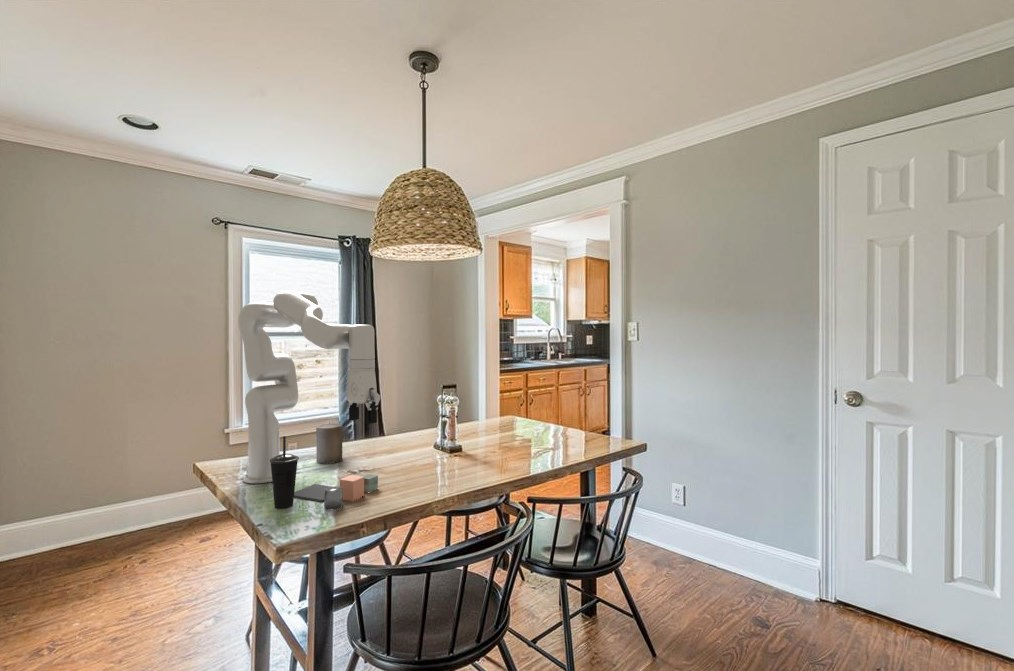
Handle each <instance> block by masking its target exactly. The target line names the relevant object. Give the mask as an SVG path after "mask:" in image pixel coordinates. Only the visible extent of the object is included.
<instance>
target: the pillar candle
mask: <svg viewBox="0 0 1014 671" xmlns="http://www.w3.org/2000/svg"><path fill="white" fill-rule="evenodd" d="M315 430H316V431H315V432H316V433H315V434H316V435H315V439H316V442H315V444H316V447H315V448H316V462H317V463H318V464H326V465H327V464H334V463H338V462H342V461H343V459H344V458H343V424H342V423H337V422H336V423H335V422H334V423H333V422H332V423H331V422H330V421H329V423H321V424H318V425H316V426H315Z"/></svg>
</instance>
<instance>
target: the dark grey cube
mask: <svg viewBox="0 0 1014 671" xmlns="http://www.w3.org/2000/svg"><path fill="white" fill-rule="evenodd" d="M343 501H344V500H343V488H342V487H340V486H338V485H337V486H332V487H329V488H326V489H325V490H324V501H323V502H324V509H325V510H328V509H333V510H338V509H341V508H342V507H343V505H344V504H343V503H344V502H343ZM341 506H342V507H341ZM340 507H341V508H340ZM337 508H338V509H337Z"/></svg>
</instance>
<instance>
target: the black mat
mask: <svg viewBox="0 0 1014 671" xmlns="http://www.w3.org/2000/svg"><path fill="white" fill-rule="evenodd" d="M329 487H333V486H330V485H324V484H317V483H314V484H311V485H308V486H307V487H303V488H301V489H299V490H297V491H294V498H297V499H303V500H307V501H313V502H320V503H323V502H324V490H325V489H326V488H329Z"/></svg>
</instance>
